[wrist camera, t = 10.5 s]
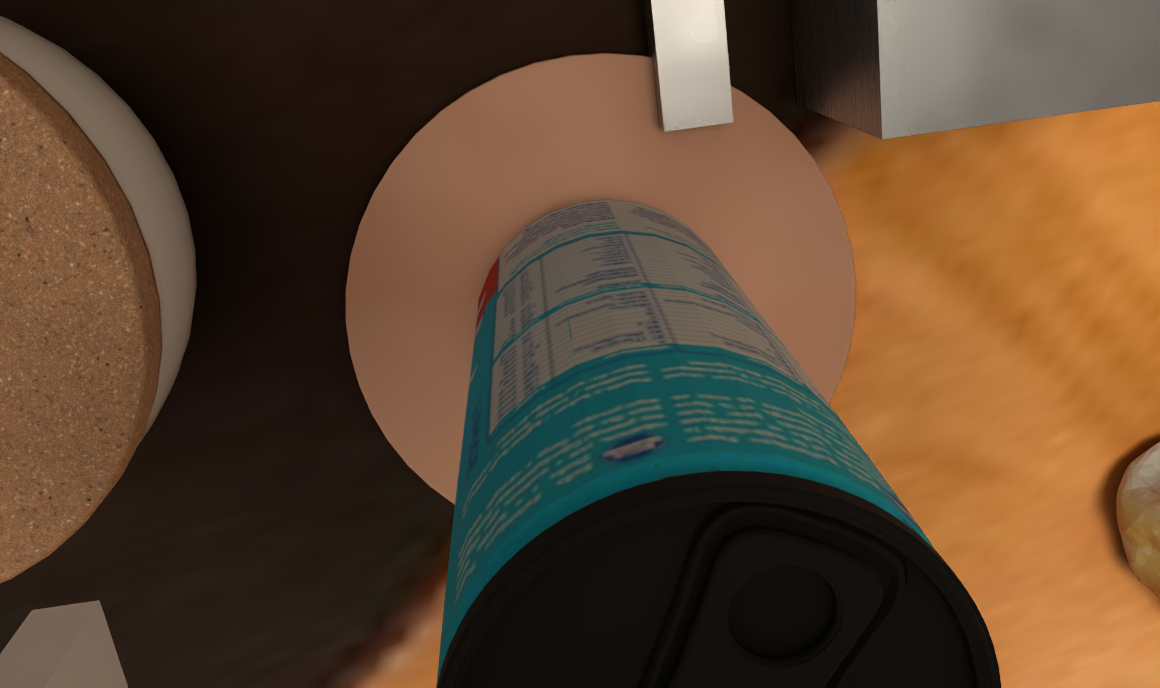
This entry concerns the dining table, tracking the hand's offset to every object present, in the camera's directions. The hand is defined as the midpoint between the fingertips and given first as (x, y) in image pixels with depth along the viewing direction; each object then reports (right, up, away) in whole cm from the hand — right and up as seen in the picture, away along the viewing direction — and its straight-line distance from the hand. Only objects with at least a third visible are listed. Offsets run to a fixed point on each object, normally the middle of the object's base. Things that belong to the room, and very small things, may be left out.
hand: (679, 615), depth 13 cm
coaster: (-1, +4, +13) cm, 14 cm away
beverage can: (-1, +4, +13) cm, 13 cm away
